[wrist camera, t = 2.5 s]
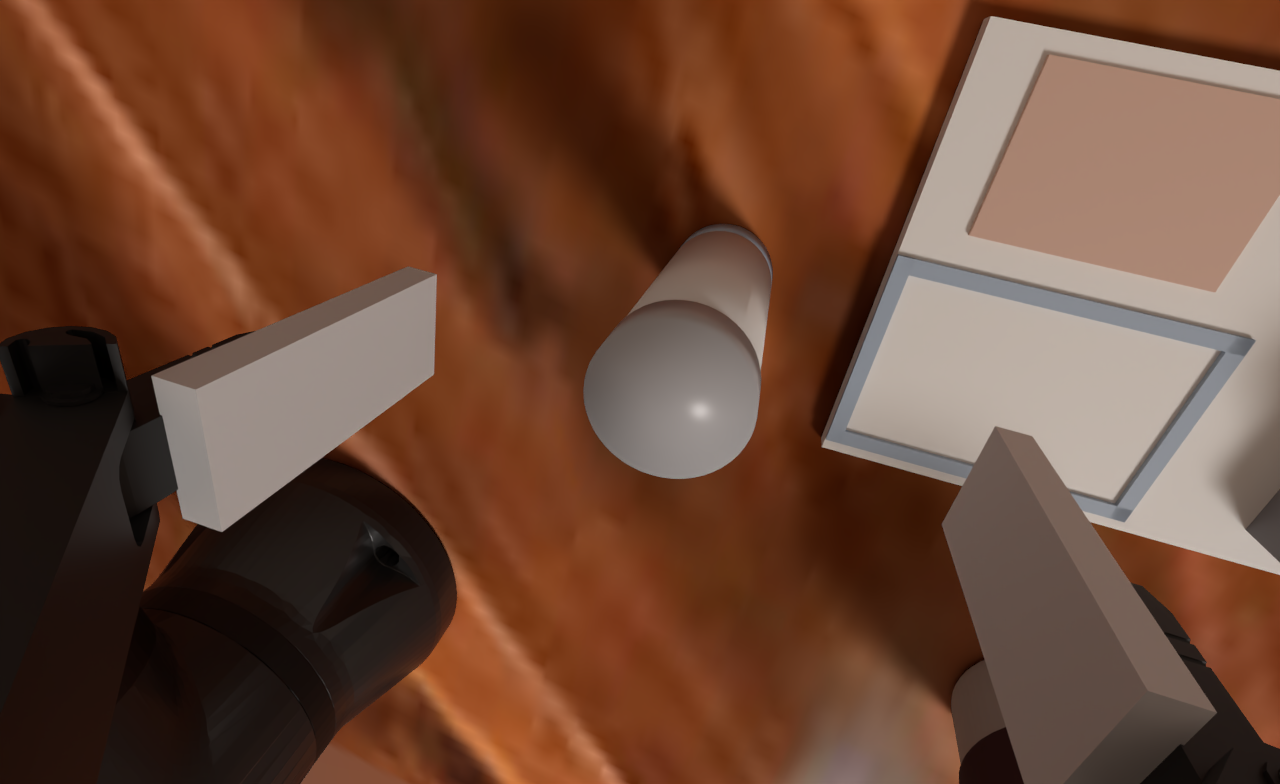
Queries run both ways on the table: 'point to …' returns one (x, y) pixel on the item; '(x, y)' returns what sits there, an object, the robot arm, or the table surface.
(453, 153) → the table surface
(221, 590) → the robot arm
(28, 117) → the table surface
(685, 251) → the cylinder
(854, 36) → the table surface
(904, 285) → the sheet board
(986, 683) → the coffee cup
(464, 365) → the table surface
